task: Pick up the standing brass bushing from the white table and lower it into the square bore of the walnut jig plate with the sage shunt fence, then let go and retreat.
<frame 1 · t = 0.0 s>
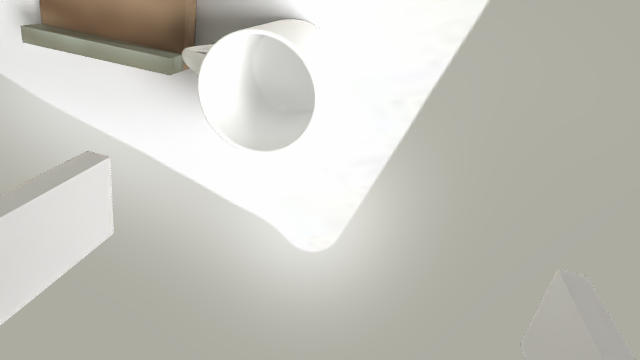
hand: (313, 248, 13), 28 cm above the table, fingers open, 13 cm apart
mug: (278, 62, 40), on the table
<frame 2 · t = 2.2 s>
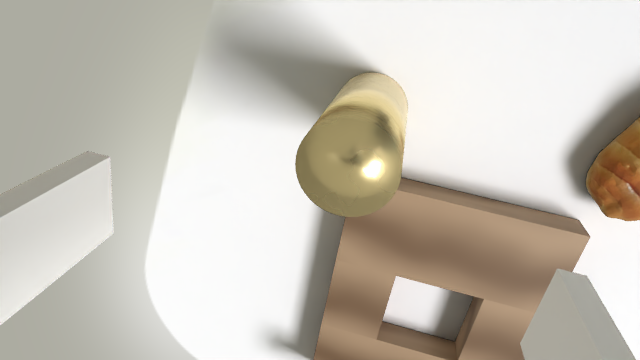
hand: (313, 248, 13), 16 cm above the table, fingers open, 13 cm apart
jig: (426, 301, 32), on the table
bushing: (371, 108, 27), on the table
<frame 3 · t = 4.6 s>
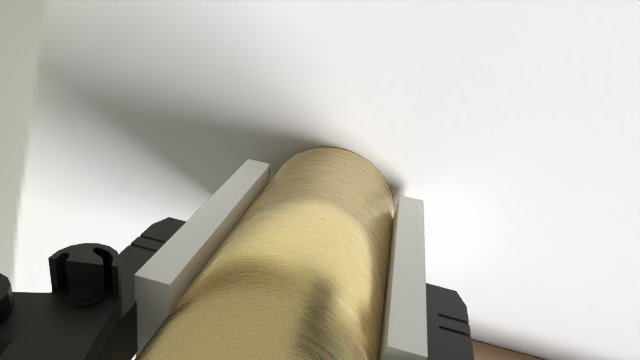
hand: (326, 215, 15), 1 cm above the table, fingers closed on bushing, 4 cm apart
bushing: (329, 206, 15), on the table, touching gripper
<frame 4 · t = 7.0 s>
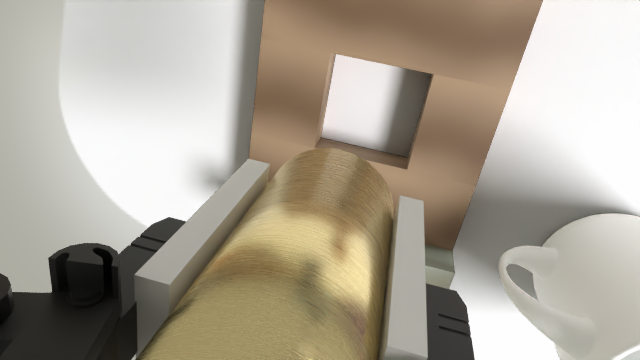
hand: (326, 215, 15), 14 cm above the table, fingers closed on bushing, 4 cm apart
mug: (574, 255, 29), on the table
jig: (373, 104, 27), on the table
bushing: (329, 207, 15), point 14 cm above the table, touching gripper
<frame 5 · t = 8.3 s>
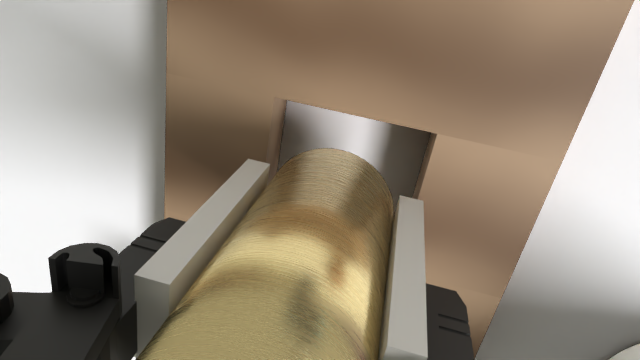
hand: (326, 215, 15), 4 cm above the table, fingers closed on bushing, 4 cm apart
jig: (346, 168, 18), on the table
bushing: (329, 208, 15), point 3 cm above the table, touching gripper
when the fingers open (3 cm above the table, at t = 9.4 s): bushing drops 2 cm, resting in jig.
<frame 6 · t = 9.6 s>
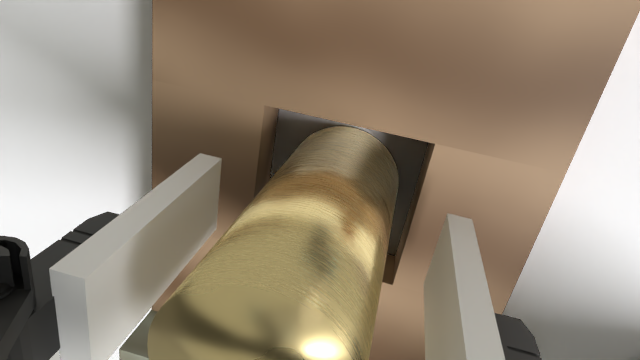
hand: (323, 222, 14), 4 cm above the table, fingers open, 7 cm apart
jig: (341, 178, 18), on the table
bushing: (342, 179, 17), resting in jig
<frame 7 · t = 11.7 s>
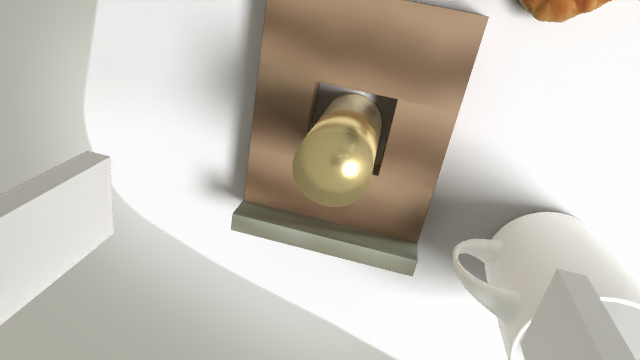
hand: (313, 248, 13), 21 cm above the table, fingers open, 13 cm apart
mug: (518, 247, 35), on the table
jig: (351, 122, 33), on the table
bushing: (352, 122, 33), resting in jig
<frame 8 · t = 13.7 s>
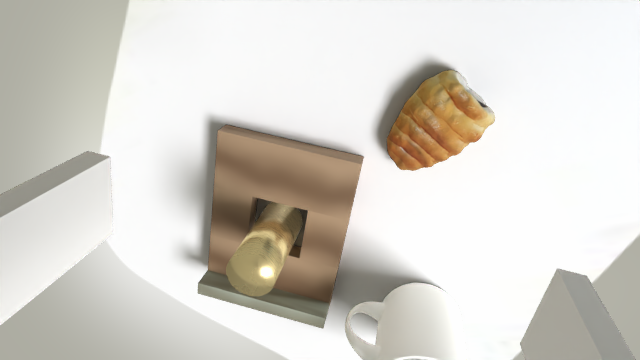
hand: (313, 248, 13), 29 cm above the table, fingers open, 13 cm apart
mug: (404, 305, 48), on the table
jig: (281, 218, 47), on the table
pastry: (439, 118, 40), on the table
bushing: (282, 219, 47), resting in jig
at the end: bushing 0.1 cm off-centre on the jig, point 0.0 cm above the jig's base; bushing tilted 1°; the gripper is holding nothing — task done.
